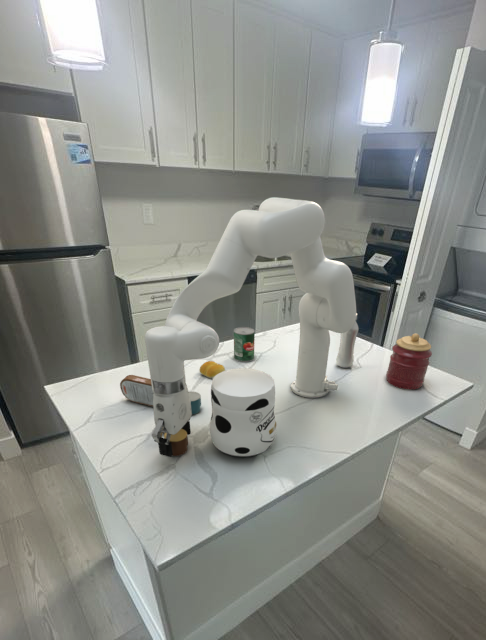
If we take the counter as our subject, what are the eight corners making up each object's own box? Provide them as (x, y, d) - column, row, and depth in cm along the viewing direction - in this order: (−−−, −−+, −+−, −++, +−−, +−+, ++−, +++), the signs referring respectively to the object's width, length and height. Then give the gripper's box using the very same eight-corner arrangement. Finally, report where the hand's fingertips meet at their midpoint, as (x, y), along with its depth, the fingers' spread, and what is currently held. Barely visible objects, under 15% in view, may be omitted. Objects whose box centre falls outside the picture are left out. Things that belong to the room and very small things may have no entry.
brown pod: (192, 445, 97) (190, 430, 94) (182, 458, 92) (180, 443, 90) (172, 441, 98) (170, 426, 95) (162, 454, 93) (159, 438, 91)
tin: (169, 405, 113) (166, 380, 108) (164, 410, 111) (160, 385, 106) (127, 396, 117) (122, 371, 112) (121, 400, 114) (115, 375, 110)
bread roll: (213, 381, 128) (213, 370, 125) (196, 373, 132) (195, 363, 130) (230, 373, 133) (230, 363, 131) (213, 366, 137) (212, 356, 135)
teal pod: (204, 407, 113) (203, 393, 111) (196, 416, 109) (195, 402, 106) (187, 404, 114) (186, 390, 112) (179, 413, 110) (177, 398, 107)
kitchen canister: (409, 394, 125) (423, 344, 116) (377, 380, 133) (388, 332, 124) (429, 383, 133) (444, 335, 123) (398, 370, 141) (409, 324, 131)
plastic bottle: (355, 365, 143) (364, 313, 132) (348, 371, 138) (357, 317, 127) (339, 361, 146) (347, 309, 135) (332, 366, 141) (339, 314, 130)
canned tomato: (236, 353, 149) (236, 326, 143) (255, 354, 148) (256, 327, 142) (231, 361, 142) (231, 333, 136) (252, 363, 141) (252, 334, 135)
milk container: (284, 457, 94) (289, 394, 84) (216, 468, 90) (212, 403, 80) (266, 421, 108) (268, 363, 98) (206, 428, 104) (201, 369, 94)
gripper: (164, 403, 77) (173, 467, 86) (200, 370, 91) (204, 428, 100) (132, 397, 78) (144, 461, 88) (172, 365, 92) (178, 423, 102)
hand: (176, 443), depth 94 cm, fingers open, 9 cm apart
